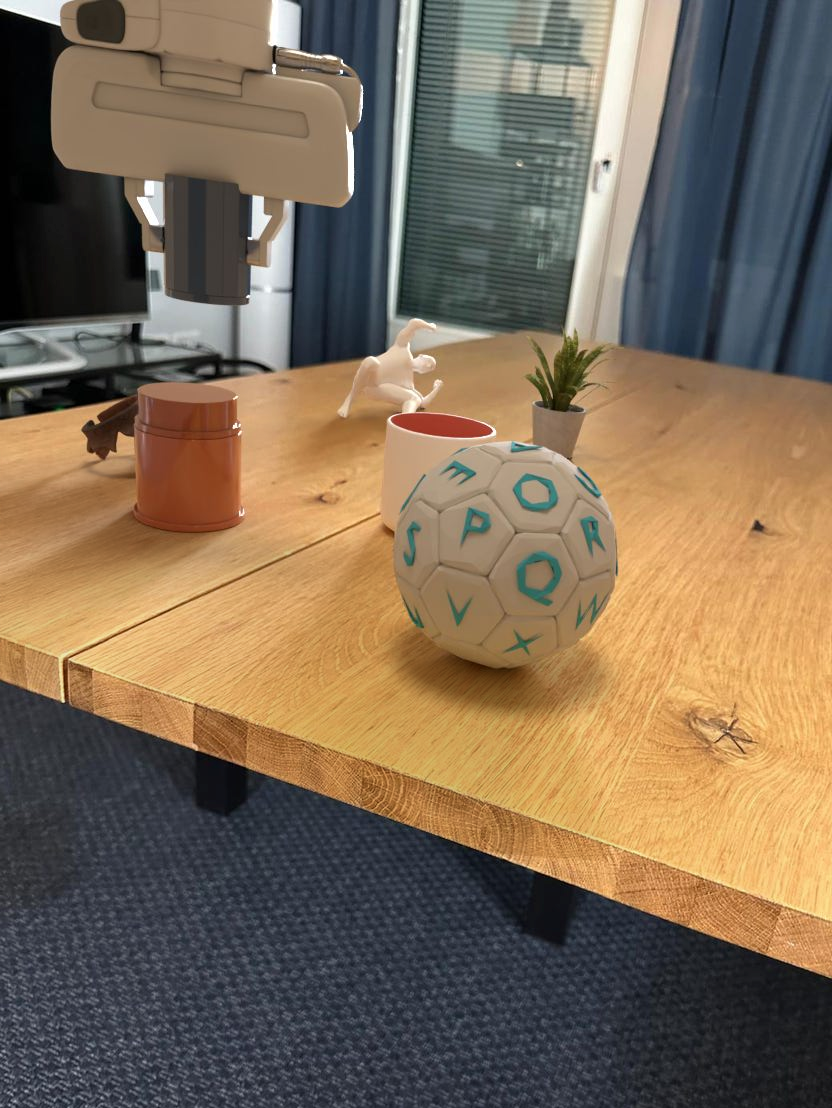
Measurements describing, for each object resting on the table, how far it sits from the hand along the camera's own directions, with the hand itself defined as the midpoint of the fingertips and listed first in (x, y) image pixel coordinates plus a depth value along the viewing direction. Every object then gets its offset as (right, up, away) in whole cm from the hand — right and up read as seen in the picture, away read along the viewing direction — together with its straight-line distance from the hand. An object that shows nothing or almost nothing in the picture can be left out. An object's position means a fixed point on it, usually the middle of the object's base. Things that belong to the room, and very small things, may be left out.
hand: (207, 258), depth 67 cm
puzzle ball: (+21, -29, -2) cm, 36 cm away
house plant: (+30, -4, +54) cm, 62 cm away
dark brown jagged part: (-15, -10, +29) cm, 34 cm away
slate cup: (0, -2, +1) cm, 3 cm away
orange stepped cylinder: (-7, -16, +17) cm, 24 cm away
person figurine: (+7, +5, +67) cm, 67 cm away
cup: (+15, -17, +21) cm, 31 cm away
